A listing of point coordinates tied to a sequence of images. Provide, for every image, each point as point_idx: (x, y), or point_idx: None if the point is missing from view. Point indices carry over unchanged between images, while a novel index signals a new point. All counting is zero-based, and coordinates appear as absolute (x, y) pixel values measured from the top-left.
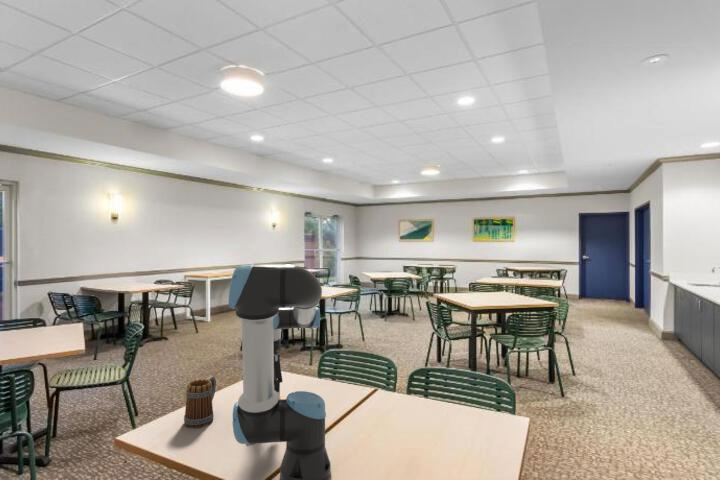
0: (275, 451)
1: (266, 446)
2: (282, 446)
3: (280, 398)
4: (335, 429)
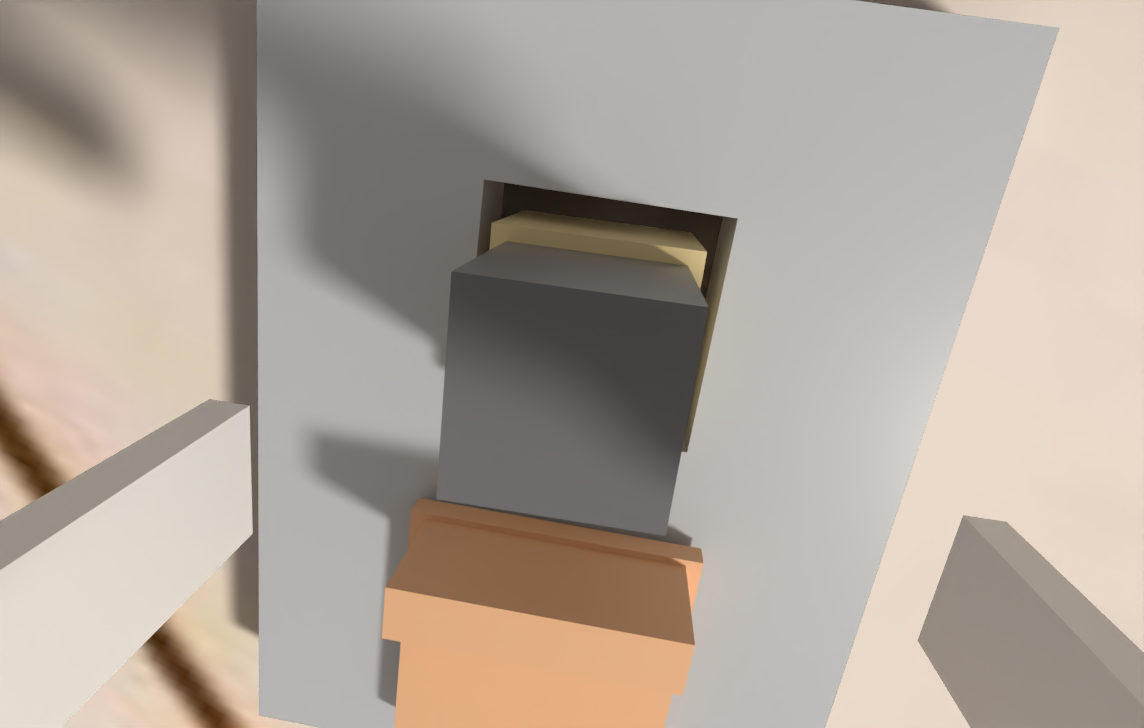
0: (3, 118)
1: (129, 85)
2: (65, 220)
3: (642, 639)
4: (152, 708)
